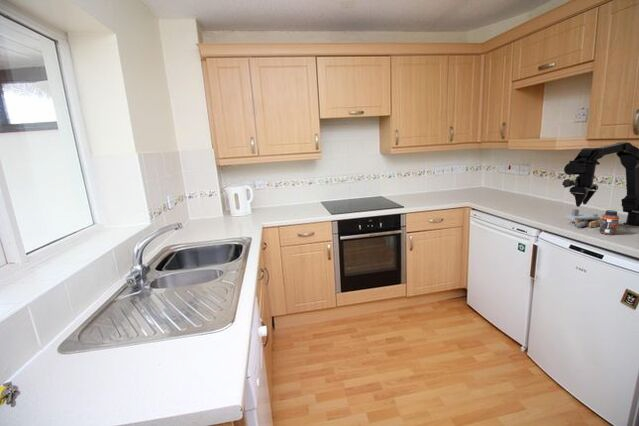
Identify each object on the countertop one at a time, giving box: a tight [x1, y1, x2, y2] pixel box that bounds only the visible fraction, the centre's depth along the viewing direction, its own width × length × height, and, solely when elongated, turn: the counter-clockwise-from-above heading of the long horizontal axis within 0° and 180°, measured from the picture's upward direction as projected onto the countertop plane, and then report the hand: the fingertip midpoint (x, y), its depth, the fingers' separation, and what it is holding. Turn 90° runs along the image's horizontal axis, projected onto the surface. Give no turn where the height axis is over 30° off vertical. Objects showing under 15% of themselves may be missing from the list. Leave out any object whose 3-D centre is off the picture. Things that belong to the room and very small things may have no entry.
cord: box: [575, 221, 589, 229], centre depth 157 cm, size 7×3×3 cm, turn 117°
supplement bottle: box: [599, 209, 620, 236], centre depth 144 cm, size 6×6×11 cm
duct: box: [574, 218, 602, 229], centre depth 160 cm, size 13×7×3 cm, turn 117°
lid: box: [565, 208, 601, 221], centre depth 162 cm, size 14×6×4 cm, turn 87°
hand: (581, 205), depth 150 cm, fingers open, 9 cm apart
